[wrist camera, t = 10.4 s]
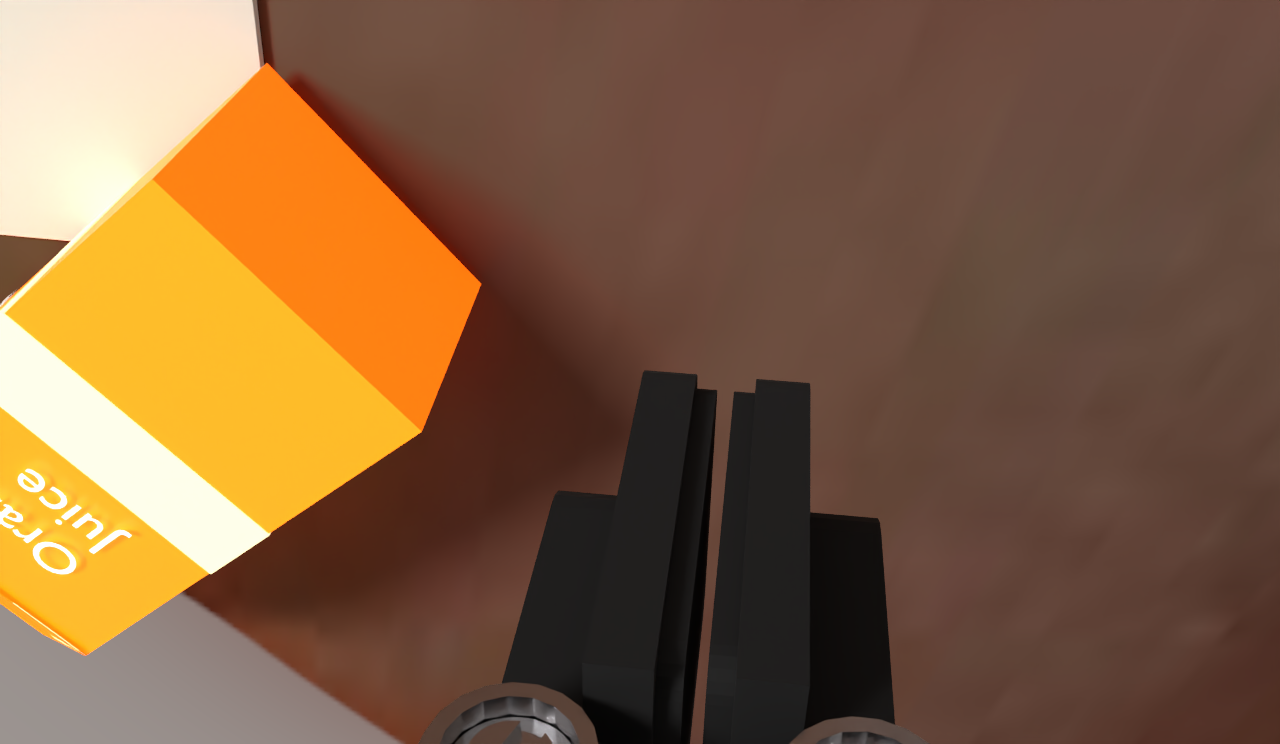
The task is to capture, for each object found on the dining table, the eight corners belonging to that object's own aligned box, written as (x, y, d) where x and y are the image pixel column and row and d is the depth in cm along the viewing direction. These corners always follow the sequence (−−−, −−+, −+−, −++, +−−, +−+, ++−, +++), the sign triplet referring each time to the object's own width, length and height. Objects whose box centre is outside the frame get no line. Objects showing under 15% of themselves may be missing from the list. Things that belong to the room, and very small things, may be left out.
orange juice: (483, 283, 37) (97, 559, 45) (266, 58, 34) (-108, 402, 42) (421, 438, 31) (-15, 728, 39) (144, 180, 27) (-269, 557, 36)
